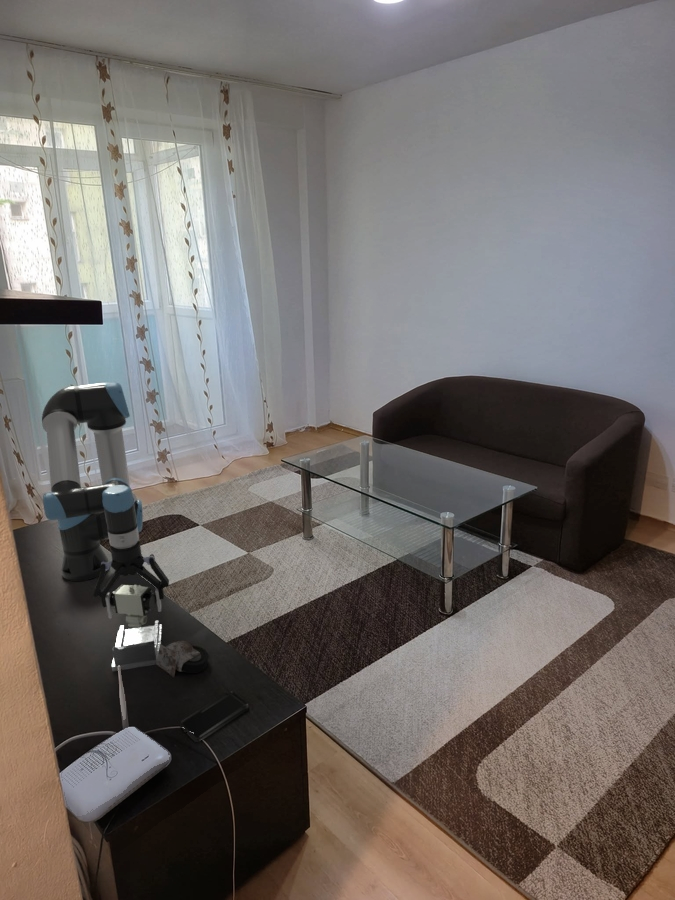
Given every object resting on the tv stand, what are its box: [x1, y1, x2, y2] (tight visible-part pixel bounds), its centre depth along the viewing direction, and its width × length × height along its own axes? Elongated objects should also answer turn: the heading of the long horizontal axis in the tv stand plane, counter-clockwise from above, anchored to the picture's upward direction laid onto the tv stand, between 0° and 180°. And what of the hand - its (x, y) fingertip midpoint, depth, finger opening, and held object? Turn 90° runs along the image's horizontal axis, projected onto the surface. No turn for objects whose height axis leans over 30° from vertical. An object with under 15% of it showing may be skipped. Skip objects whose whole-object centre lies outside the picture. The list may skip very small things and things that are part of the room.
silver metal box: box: [111, 620, 163, 672], centre depth 170 cm, size 16×12×6 cm
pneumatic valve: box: [110, 583, 157, 628], centre depth 170 cm, size 6×12×12 cm, turn 79°
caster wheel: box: [156, 640, 210, 678], centre depth 163 cm, size 7×11×10 cm
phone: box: [179, 690, 249, 743], centre depth 146 cm, size 8×1×15 cm
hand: (135, 612), depth 171 cm, fingers closed on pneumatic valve, 12 cm apart
